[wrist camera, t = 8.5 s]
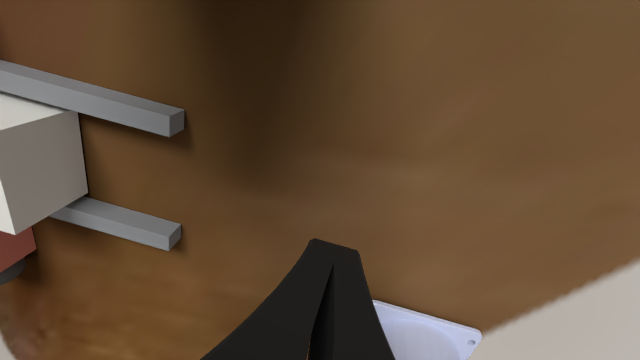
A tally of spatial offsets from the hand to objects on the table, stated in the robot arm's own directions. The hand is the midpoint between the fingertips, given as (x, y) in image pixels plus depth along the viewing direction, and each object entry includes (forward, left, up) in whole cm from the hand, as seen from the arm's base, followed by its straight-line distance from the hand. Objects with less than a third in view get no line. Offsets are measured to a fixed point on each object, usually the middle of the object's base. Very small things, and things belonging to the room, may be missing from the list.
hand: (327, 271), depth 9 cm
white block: (-5, +20, -10) cm, 23 cm away
